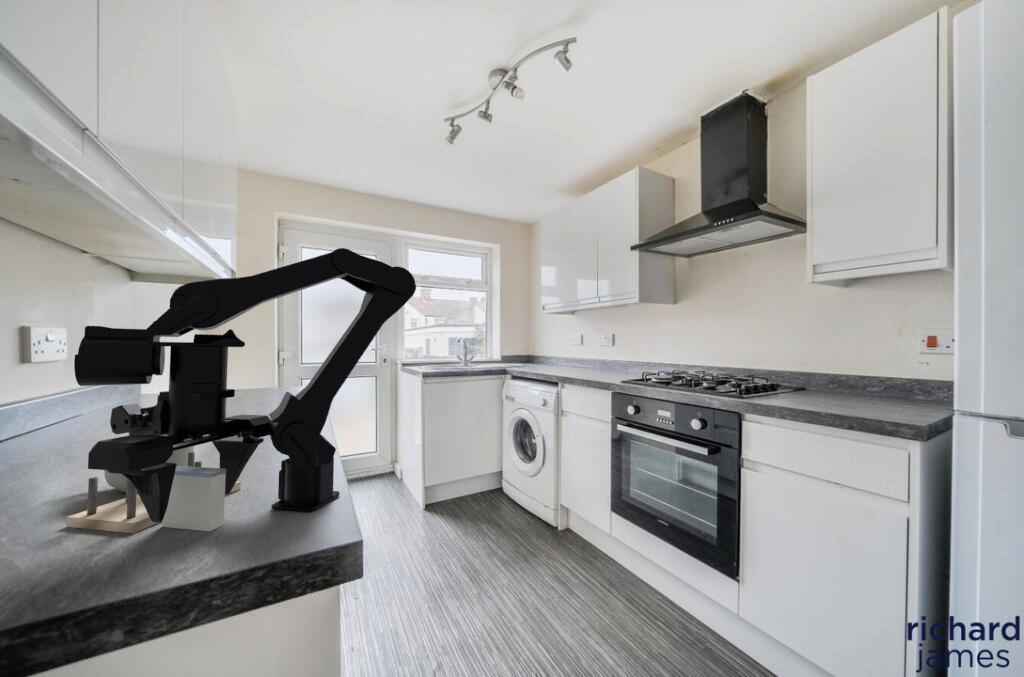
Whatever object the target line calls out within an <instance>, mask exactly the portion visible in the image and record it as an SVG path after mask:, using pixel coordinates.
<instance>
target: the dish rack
mask: <svg viewBox="0 0 1024 677" xmlns="http://www.w3.org/2000/svg"><path fill="white" fill-rule="evenodd" d="M195 453H196V452H195V451H194V452H189V453H188V466H189V467H203V466H202V464H203V462H202V460H198V461H197V460H196V461H195V459H196V458H195V457H196V456H195V455H196V454H195ZM166 463H167V462H166ZM241 483H242V481H238V480H237V481H236V483H235V485H234V487H233V489H232V490H231V492H230V493H229V494H228V495H230V494H232V493H235V492H237V491H239V490H241V486H242V484H241ZM87 488H88V490H87V508H86V510H84V511H80V512H77V513H75V514H71V515H67V516H66V521H65V522H66V523H65V527H66V528H74V529H85V530H96V531H107V532H117V533H128V534H134V533H137V532H139V531H142V530H144V529H147V528H149V527H152V526H154V525H157V524H159V523H162V521H161V522H152V521H151V519H150V517H149V515H148V513H147V511H146V509H145V506H144V504H143V502H142V500H141V498H140V496H139V494H138V493H137V490H136V489H135V487H134V486H133V485H132V483H131V482H130V481H129V480H128V479H127V485H126V492H125V497H124V498H122V499H117V500H114V501H111V502H108V503H105V504H103V505H100V506H97V505H98V488H99V477H98V476H94V477H90V478H88V487H87ZM225 496H227V495H226V494H225Z"/></svg>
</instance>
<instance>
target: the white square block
mask: <svg viewBox="0 0 1024 677" xmlns="http://www.w3.org/2000/svg"><path fill="white" fill-rule="evenodd" d="M225 476H226V469H221V468H220V467H219V468H217V467H204V466H202V467H195V466H194V467H189V466H177V467H176V470H175V475H174V479H173V483H172V488H171V493H170V497H169V502H168V506H167V510H166V513H165V516H164V519H163V521H162V522H161V527H162V528H173V529H181V530H182V529H183V530H193V531H205V532H212V531H214V530H216V529H218V528H220V527H222V526H224V525H225V499H226V497H225V496H226V495H225Z"/></svg>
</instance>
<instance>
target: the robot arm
mask: <svg viewBox="0 0 1024 677" xmlns="http://www.w3.org/2000/svg"><path fill="white" fill-rule="evenodd" d="M336 279H341V280H343V281H345V282H347V283H348V284H350V285H352V286H354V287H355V288H356V289H358V290H360V291H362V292H364V293H365V294H364V296H363V299H362V303H361V305H360V309H359V311H358V313H357V315H356V316H355V317H354V319H353V320H352V321H351V323H350V324H349V326H348V327H347V329H346V330H345V332H344V333H343V334H342V336H341V337H340V339H339V340H338V342H336V344H335V345H334V347H333V348H332V350H331V351H330V353H329V354H328V356H327V357H326V358H325V360H324V361H323V362H322V364H321V365H320V366H319V368H318V370H317V371H316V372H315V373H314V375H313V376H312V378H311V380H310V381H309V383H308V384H307V385H306V386H305V387H304V388H303V389H302V390H300V391H299V392H298V393H297V394H295V395H293V394H292V393H291V392H289V391H286V392H285V394H284V395H283V397H282V398H281V401H280V403H279V405H278V406H277V408H275V409H274V410H273V411H272V412H270V413H269V414H268V415H265V414H264V415H263V414H262V415H261V414H260V415H259V414H238V415H232V416H226V415H227V398H229V399H230V398H234V397H235V393H236V392H235V390H236V389H235V388H227V386H228V362H229V357H228V356H229V348H243V347H245V346H246V342H245V341H243V340H242V339H241V338H239V337H238V335H236V333H235V331H234V329H228V330H227V331H226V332H225V333H223V334H210V333H209V334H207V333H206V334H204V333H202V334H199V333H194V336H193V342H191V341H190V342H187V341H186V342H185V341H184V342H183V341H176V342H175V341H160V340H161V337H163V338H180V337H181V336H184V335H186V334H189V333H190V332H192V331H194V330H196V331H209V330H215V329H218V328H219V327H221V326H223V325H225V324H227V323H229V322H230V321H232V320H235V319H236V318H238V317H240V316H242V315H244V314H245V313H247V312H249V311H251V310H253V309H254V308H256V307H258V306H260V305H262V304H264V303H267V302H270V301H273V300H276V299H279V298H282V297H286V296H287V295H291V294H294V293H297V292H300V291H303V290H306V289H309V288H312V287H314V286H317V285H320V284H324V283H327V282H330V281H332V280H336ZM416 291H417V284H416V281H415V278H414V276H413V274H412V273H411V271H409V270H408V269H406V268H404V267H403V266H398V265H397V266H391V265H389V264H387V263H385V262H383V261H380V260H376V259H373V258H371V257H366V256H364V255H361V254H359V253H357V252H355V251H352V250H351V249H349V248H344V247H342V248H341V247H340V248H336V249H334V250H333V251H330V252H329V253H328V252H327V253H325V254H322V255H318V256H315V257H312V258H308V259H304V260H301V261H297V262H294V263H291V264H287V265H284V266H280V267H277V268H273V269H270V270H267V271H264V272H260V273H257V274H254V275H249V276H243V277H242V276H241V277H225V278H222V277H221V278H215V279H207V280H201V281H192V282H188V283H184V284H182V285H181V286H179V287H177V288H176V289H175V290H174V291H173V293H172V295H171V297H170V299H169V308H168V309H167V310H166V311H164V313H162V314H161V315H160V316H159V317H158V318H157V319H156V320H154V321H153V322H152V323H151V324H150V325H149V326H147V328H146V329H144V328H142V329H141V328H119V327H118V328H116V327H114V328H113V327H108V326H100V325H85V327H84V336H83V337H82V338H81V340H80V343H79V347H78V350H77V351H78V352H77V353H76V354H75V355H74V361H73V362H74V363H73V364H74V368H73V369H74V376H75V380H76V382H77V384H78V386H81V387H91V386H92V387H93V386H98V387H99V386H123V385H149V384H151V383H152V379H153V377H154V376H163V375H164V371H165V364H166V363H165V362H166V354H165V353H166V347H170V351H169V352H170V353H169V354H170V355H169V356H170V357H169V379H168V380H169V381H168V390H167V391H165V390H164V391H159V394H158V396H157V401H156V404H155V405H153V406H148V407H141V406H140V405H139V404H138V403H130V404H122V405H118V406H116V407H113V408H112V409H111V414H110V421H109V422H110V428H111V432H112V433H113V434H114V435H121V434H128V435H126V436H125V435H124V436H119V437H114V438H107V439H108V440H105V439H101V440H102V441H101V440H99V441H97V442H95V444H96V445H95V446H94V447H93V446H92V447H93V448H92V447H91V448H92V449H90V451H89V452H88V458H87V460H88V462H87V470H98V471H99V470H100V471H104V470H107V471H108V473H116V474H122V475H123V476H125V477H126V478H127V479H128V480H129V481H130V482H131V483H132V485H133V486H134V487H135V489H136V490H137V492H138V493H137V494H139V496H140V498H141V500H142V502H143V504H144V506H145V509H146V511H147V513H148V515H149V517H150V519H151V521H152V522H159V523H162V522H161V521H163V519H164V516H165V513H166V510H167V506H168V502H169V497H170V493H171V488H172V483H173V479H174V475H175V470H176V465H177V463H166V462H167V460H168V459H169V458H170V457H171V456H172V454H173V451H175V450H179V449H183V448H187V447H191V446H194V447H195V446H198V445H204V444H207V443H211V442H212V444H213V446H214V447H215V449H216V451H217V452H218V454H219V468H221V469H226V476H225V494H226V495H225V496H227V495H230V494H231V493H230V492H231V490H232V489H233V487H234V485H235V483H236V481H238V480H239V478H240V475H241V474H242V473H243V470H244V469H245V467H246V465H247V464H248V462H249V461H250V459H251V457H252V456H253V455H254V452H256V450H257V449H258V447H259V445H260V444H262V443H264V441H265V438H264V437H267V436H269V439H270V441H271V444H272V446H273V447H274V449H275V451H277V452H278V453H280V454H282V455H285V456H288V458H285V459H283V460H281V461H280V465H281V466H280V470H278V484H277V485H278V488H277V490H278V491H277V493H278V494H277V496H278V497H277V498H278V501H276V502H274V503H271V509H273V510H283V511H284V510H285V511H287V510H288V511H299V512H314V511H316V510H317V509H319V508H321V507H322V506H324V505H326V504H327V503H329V502H330V501H333V500H334V499H336V498H337V497H339V496H340V494H341V493H340V491H338V490H337V491H336V490H334V474H335V472H334V469H335V468H334V467H335V457H334V456H335V454H336V450H337V449H336V447H335V446H334V444H332V443H331V442H330V441H329V440H328V439H326V437H324V435H322V434H321V433H322V432H323V429H324V426H325V424H326V423H327V422H326V421H327V420H328V416H329V412H330V410H331V406H332V403H333V400H334V398H335V397H336V395H337V394H338V392H339V391H340V389H341V388H342V386H343V385H344V384H345V382H346V381H347V379H348V377H349V376H350V374H352V371H353V370H354V368H355V367H356V366H357V364H358V363H359V361H360V360H361V358H362V356H363V355H364V353H365V352H366V351H367V349H368V348H369V346H370V344H371V343H372V341H373V340H374V338H375V337H376V336H377V334H378V332H379V331H380V330H381V328H382V327H383V325H384V324H385V323H386V322H387V321H388V320H389V319H390V318H391V317H393V316H394V315H395V314H397V313H398V311H399V310H401V308H403V307H404V305H405V304H407V303H408V301H410V300H411V298H412V297H413V296H414V294H415V292H416ZM164 434H167V436H160V435H164ZM154 435H155V436H154ZM190 438H191V439H190ZM187 439H189V440H187ZM184 440H186V441H184ZM229 493H230V494H229Z"/></svg>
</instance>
